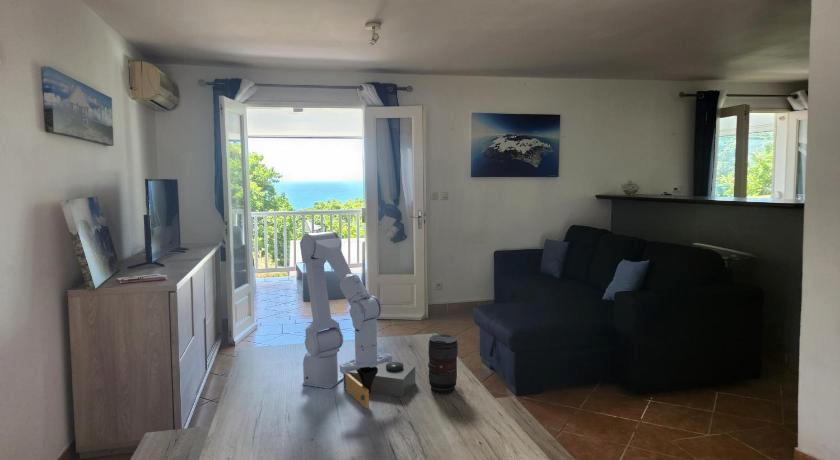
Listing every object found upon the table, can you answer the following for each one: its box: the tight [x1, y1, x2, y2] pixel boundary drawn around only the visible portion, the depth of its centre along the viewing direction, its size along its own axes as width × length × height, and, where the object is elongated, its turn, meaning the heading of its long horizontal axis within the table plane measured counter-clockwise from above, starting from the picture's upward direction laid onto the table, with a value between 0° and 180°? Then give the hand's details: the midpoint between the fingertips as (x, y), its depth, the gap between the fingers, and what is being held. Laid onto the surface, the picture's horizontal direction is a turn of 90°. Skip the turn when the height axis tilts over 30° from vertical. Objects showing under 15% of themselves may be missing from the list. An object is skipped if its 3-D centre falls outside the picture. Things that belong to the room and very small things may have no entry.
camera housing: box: [342, 361, 416, 398], centre depth 149 cm, size 18×10×6 cm, turn 71°
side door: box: [345, 373, 370, 409], centre depth 140 cm, size 14×2×5 cm, turn 31°
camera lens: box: [427, 333, 459, 395], centre depth 146 cm, size 8×8×15 cm
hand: (367, 393), depth 138 cm, fingers closed
